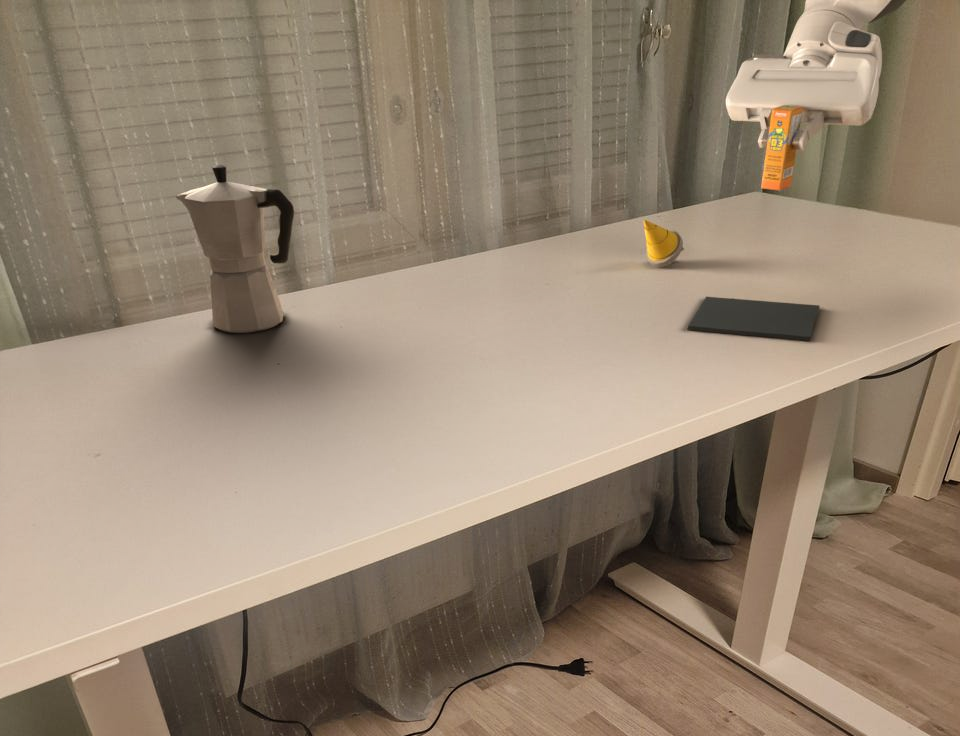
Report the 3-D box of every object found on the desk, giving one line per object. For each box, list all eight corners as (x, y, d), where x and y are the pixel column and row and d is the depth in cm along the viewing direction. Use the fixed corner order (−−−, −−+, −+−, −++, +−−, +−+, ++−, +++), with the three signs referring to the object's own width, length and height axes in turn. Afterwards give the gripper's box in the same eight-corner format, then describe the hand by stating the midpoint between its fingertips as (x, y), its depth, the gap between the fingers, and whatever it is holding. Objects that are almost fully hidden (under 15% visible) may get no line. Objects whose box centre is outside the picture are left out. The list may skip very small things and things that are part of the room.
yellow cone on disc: (691, 270, 124) (662, 228, 116) (656, 283, 127) (626, 243, 119) (690, 239, 125) (661, 195, 118) (656, 253, 128) (626, 211, 121)
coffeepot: (184, 329, 109) (146, 171, 98) (223, 307, 116) (192, 156, 105) (293, 338, 105) (266, 173, 94) (327, 314, 112) (305, 158, 101)
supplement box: (758, 188, 124) (769, 107, 118) (771, 184, 125) (783, 104, 119) (779, 191, 122) (792, 108, 116) (792, 187, 124) (805, 105, 117)
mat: (818, 309, 107) (819, 305, 107) (809, 341, 98) (810, 336, 98) (705, 300, 111) (706, 296, 111) (687, 330, 103) (687, 325, 102)
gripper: (742, 37, 122) (705, 126, 122) (892, 36, 113) (853, 133, 112) (749, 71, 128) (714, 157, 128) (892, 73, 118) (855, 165, 118)
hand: (780, 146), depth 120 cm, fingers closed on supplement box, 3 cm apart
